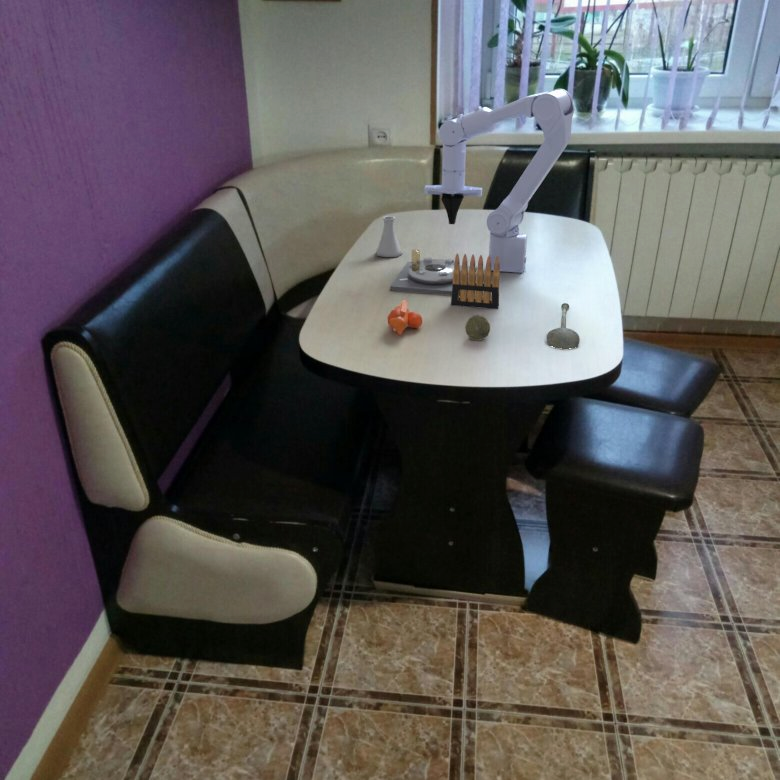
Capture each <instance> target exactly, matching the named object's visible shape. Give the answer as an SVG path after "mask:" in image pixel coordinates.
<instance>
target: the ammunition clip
mask: <svg viewBox="0 0 780 780" xmlns="http://www.w3.org/2000/svg"><path fill="white" fill-rule="evenodd" d="M459 256H460V255H459V253H456V255H455V257H454V270H453V286H452V295H451V298H450V299H451V300H450V306H452V307H465V306H466V307H468V308H476V309H477V308H479V309H480V308H481V309H490V310H491V309H492V310H493V309H494V310H498V309H499V307H500V283H501V281H500V280H501V273H500V272H501V271H500V263H499V257H498V256H497V257H496V259H495V263H494V271H493V272H492V271H491V257H490V255H489V254H488V256H487V259H486V262H485V263H486V264H485V267H486V270H485V269H484V258H483V254H480V256H479V257H478V260H477V261H478V262H477V271H475V267H476V257H475V255H474V254H472V255H471V257H470V261H469V265H468V257H467V256H468V255H467V254H466V253H464V255H463V257H462V260H461V261H462V262H460V257H459ZM460 263H461V264H460ZM460 265H462V270H461V281H460ZM468 266H470V269H469V276H468ZM484 270H485V272H484ZM467 290H468V291H467Z"/></svg>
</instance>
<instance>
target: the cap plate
mask: <svg viewBox="0 0 780 780" xmlns="http://www.w3.org/2000/svg"><path fill="white" fill-rule="evenodd" d="M411 263H412V261H407V262H406V263H405V265H404V266H403V268H402V269H401V270H400V272H399V274H398V275H397V276H396V278H395V279H394V280H393V282H392V283H391V285H390V287H389V288H390V291H395V292H396V291H397V292H406V293H407V292H408V293H409V292H410V293H417V294H418V293H419V294H420V293H421V294H430V295H431V294H433V295H446V296H452V286H453V282H452V283H448V284H438V285H433V284H423V283H419V282H416V281H414V280H412V279H410V277H409V266H410V264H411ZM460 266H461V267H462V264H460ZM467 266H468V276H469V269H470V265H467ZM477 268H478V266H475V271H476V272H477ZM460 281H461V278H460ZM467 292H468V290H467Z"/></svg>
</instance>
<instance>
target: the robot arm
mask: <svg viewBox="0 0 780 780" xmlns="http://www.w3.org/2000/svg"><path fill="white" fill-rule="evenodd" d="M473 110H474V111H470V112H469V113H465V114H463V113H461V114H458V115H457V117H455V118H453V119H449V120H446V121H445V122H443V123H442V124H441V125H440V128H439V130H438V136H439V139H440V141H441V143H442V160H441V161H442V165H441V166H442V168H441V169H442V170H441V171H442V172H441V174H442V175H441V184H433V185H432V184H431V185H429V184H428V185H427V184H426V185H425V186H424V193H423V194H424V195H427V196H428V195H439V196H441V199H440V200H441V203H442V204H443V206H444V209H445V211H446V214H447V218H448V224H449V225H455V224H456V220H457V215H458V212H459V209H460V207H461V204H462V202H463V199H464V198H465V197H476V198H482V196H483V187H475V186H469V185H468V186H467V185H466V184H465V182H466V157H467V155H466V153H467V141H468V140H472V139H475V138H478V137H480V136H482V135H485V134H488V133H491V132H494V131H493V130H494V129H495V127H496V125H497V124H499V123H502V122H504V121H507V120H511V119H513V118H516V117H520V116H522V115H523V116H525V117H528V118H530V119H531V118H534V119H535V120H536V122H537V124H538V125H539V127H540V128H541V130H542V132H543V137H544V141H543V142H542V144H541V145H540V147H539V148H538V150H537V151H536V153H535V155H533V157H532V159H531V161H530V162H529V164H528V165H527V167H526V168H525V170H524V171H523V173H522V174H521V176H520V177H519V179H518V181H517V182H516V184H515V185H514V186H513V188H512V190H511V191H510V192H509V194H508V195H507V196H506V197H505V198H504V199H503V201H502V202H501V203H500V205H498V207H497V208H496V209H495V210H492V211H491V212H490V213H489V214H488V215H487V218H486V226H487V229H488V231H489V232H490V233H489V242H488V243H489V245H488V256H489V255H490V257H491V272H492V271H493V272H494V263H495V259H496V257H497V256H498V257H499V263H500V272H505V273H507V272H508V273H517V274H519V273H520V274H522V273H524V269H525V267H526V266H525V265H526V264H527V263H526V262H527V243H528V235H527V234H525V233H521V232H520V228H519V226H520V224H522V222H523V220H524V215H525V211H526V210H527V208H528V205H529V203H530V200H531V199H532V198H533V195H535V193H536V191H537V190H538V189H539V187H540V185H541V184H542V183H543V181H544V180H545V179H546V177H547V175H548V174H549V172H550V171H551V170H552V168H553V167H554V165H555V164H556V162H557V161H558V159H559V158H560V157H561V155H562V153H563V152H564V150H565V149H566V148H567V146H568V144H569V143H570V141H571V134H572V125H573V124H572V123H573V116H574V113H575V111H576V108H575V105H574V102H573V98H572V95H571V94H570V92H568V91H567V90H566V89H564V88H556V89H553V90H552V91H550V92H549V91H544V92H539V93H535V94H531V95H527V96H525V97H521V98H519V99H516V100H515V101H512V102H510V103H509V102H508V103H507V104H505V105H502V106H500V107H497V108H495V109H490V108H489V107H487V106H484V107H482V106H481V105H480V106H477V107H474V109H473ZM484 270H486V266H484Z"/></svg>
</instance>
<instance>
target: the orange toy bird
mask: <svg viewBox="0 0 780 780" xmlns="http://www.w3.org/2000/svg"><path fill="white" fill-rule="evenodd" d="M422 324H423V318H422V316H421V314H419V313H417V312H415V311H410V310H409V308H408V300H405V299H402V301H401V302H400V304H399V305H397V306H395V307H394V309H392V310H391V311H390V312H389V314H388V315H387V325H388V326H389V327H390V328H391V329H392V330H393V331H392V332H394V333H397V334H398V335H399V336H401V335H402V334H403V331H404V330H406V329H407V328H408V327H410V328H413V329H418V328H420V327H421V326H422ZM407 326H408V327H407Z"/></svg>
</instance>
